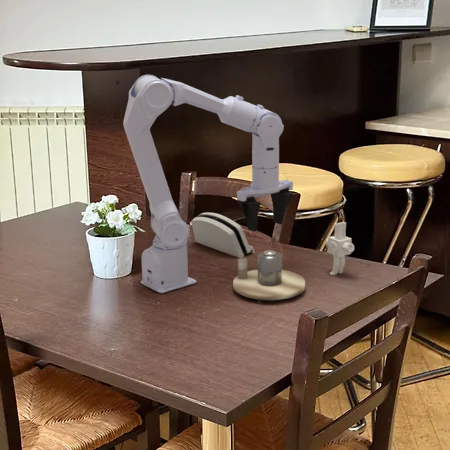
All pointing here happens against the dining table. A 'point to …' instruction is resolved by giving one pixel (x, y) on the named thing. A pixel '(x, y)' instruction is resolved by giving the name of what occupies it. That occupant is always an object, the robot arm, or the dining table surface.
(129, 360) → the dining table surface
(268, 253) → the grey short cylinder
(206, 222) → the grey piece
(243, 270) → the turntable
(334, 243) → the toy robot
